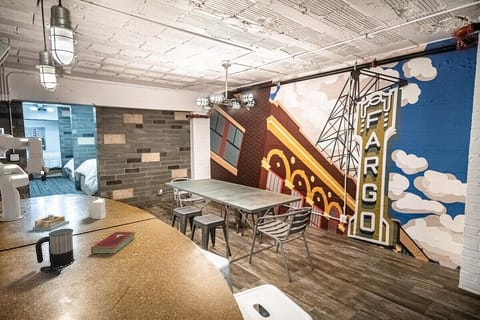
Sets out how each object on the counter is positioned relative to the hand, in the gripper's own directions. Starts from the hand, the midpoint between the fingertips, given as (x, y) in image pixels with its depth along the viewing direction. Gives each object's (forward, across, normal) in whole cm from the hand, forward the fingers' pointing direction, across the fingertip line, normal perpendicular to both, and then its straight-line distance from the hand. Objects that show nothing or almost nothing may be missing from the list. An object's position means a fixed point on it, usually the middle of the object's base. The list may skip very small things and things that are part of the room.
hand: (37, 180), depth 173 cm
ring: (+26, +17, -10) cm, 33 cm away
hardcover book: (+28, +77, -33) cm, 89 cm away
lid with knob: (+28, +18, -10) cm, 35 cm away
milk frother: (+28, +67, -58) cm, 93 cm away
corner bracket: (+28, +34, +13) cm, 46 cm away
